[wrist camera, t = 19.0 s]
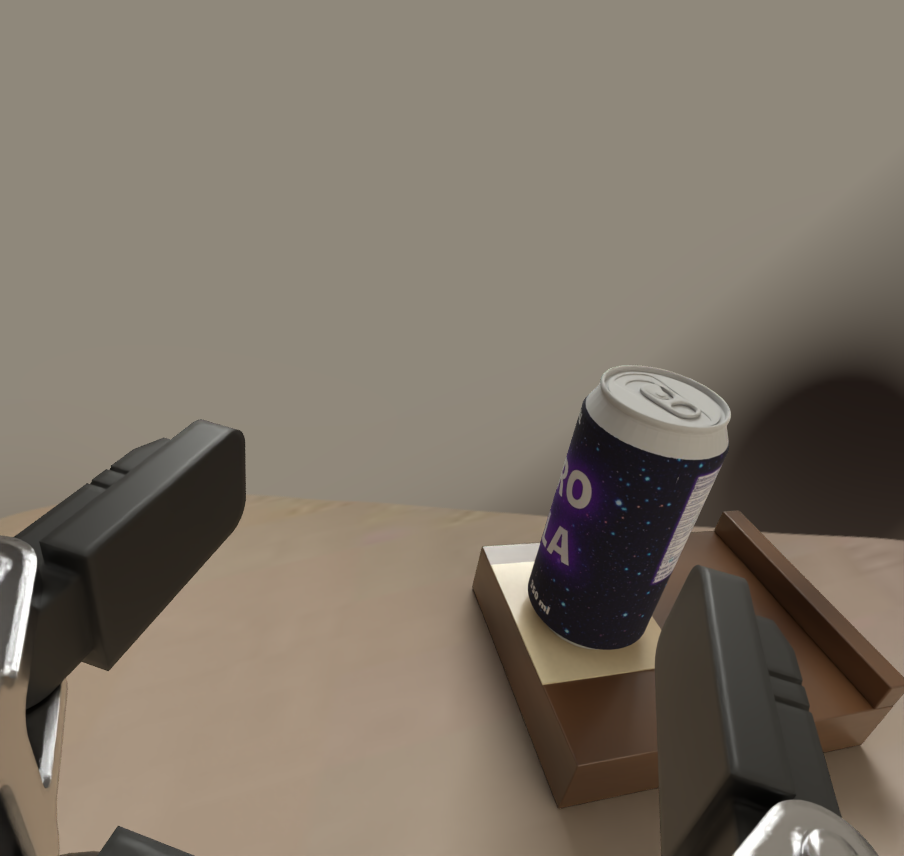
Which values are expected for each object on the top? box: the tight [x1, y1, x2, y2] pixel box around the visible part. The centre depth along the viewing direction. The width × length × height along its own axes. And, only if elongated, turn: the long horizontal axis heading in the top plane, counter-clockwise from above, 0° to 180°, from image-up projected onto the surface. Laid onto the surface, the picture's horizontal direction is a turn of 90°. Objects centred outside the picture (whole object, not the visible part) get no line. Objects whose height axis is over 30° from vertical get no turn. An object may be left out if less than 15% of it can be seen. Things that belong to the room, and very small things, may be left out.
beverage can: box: [528, 365, 731, 650], centre depth 27 cm, size 6×6×12 cm
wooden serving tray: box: [472, 511, 904, 808], centre depth 31 cm, size 12×16×4 cm
